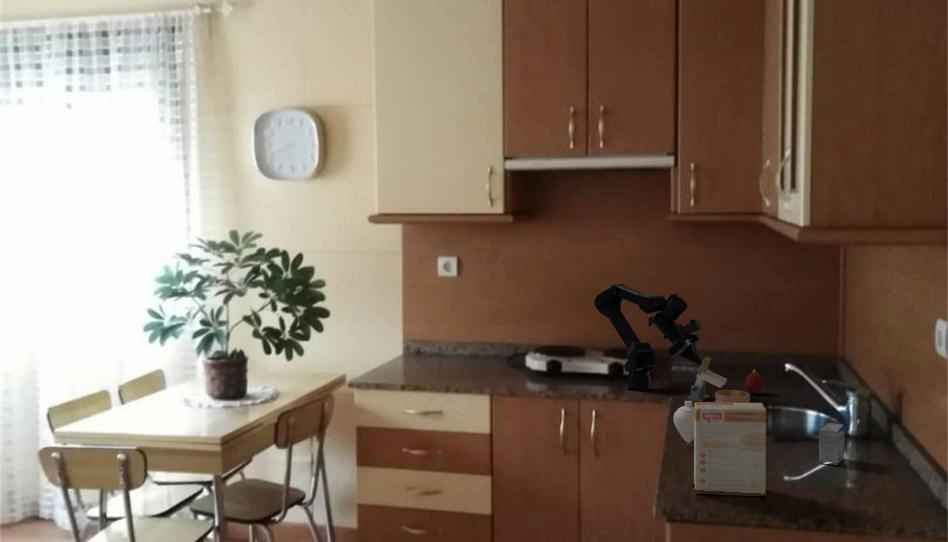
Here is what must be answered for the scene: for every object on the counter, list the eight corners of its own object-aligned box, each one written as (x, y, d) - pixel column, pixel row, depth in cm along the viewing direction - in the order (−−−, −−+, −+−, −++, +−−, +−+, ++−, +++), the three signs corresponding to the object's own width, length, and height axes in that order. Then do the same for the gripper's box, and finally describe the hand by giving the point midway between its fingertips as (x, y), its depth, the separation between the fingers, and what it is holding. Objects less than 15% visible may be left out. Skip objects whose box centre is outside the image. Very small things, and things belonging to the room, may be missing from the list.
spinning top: (667, 444, 246) (667, 399, 245) (691, 441, 249) (691, 396, 248) (684, 451, 239) (685, 405, 238) (709, 448, 242) (709, 402, 241)
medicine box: (837, 466, 225) (838, 431, 224) (818, 464, 227) (819, 429, 226) (844, 458, 231) (845, 424, 231) (825, 456, 234) (826, 422, 233)
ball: (733, 404, 292) (726, 396, 293) (736, 402, 295) (729, 393, 296) (742, 398, 291) (734, 389, 291) (744, 396, 294) (737, 387, 295)
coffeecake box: (761, 487, 209) (762, 402, 208) (766, 498, 202) (767, 409, 201) (693, 485, 212) (693, 400, 210) (695, 495, 205) (696, 407, 203)
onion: (764, 396, 303) (764, 371, 302) (745, 395, 304) (746, 371, 303) (762, 392, 309) (762, 368, 308) (744, 391, 310) (744, 368, 309)
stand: (686, 400, 297) (686, 385, 297) (693, 396, 304) (694, 380, 304) (702, 402, 295) (702, 386, 294) (709, 397, 302) (709, 382, 301)
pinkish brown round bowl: (711, 404, 292) (711, 394, 292) (720, 398, 301) (720, 388, 301) (744, 407, 287) (744, 398, 287) (752, 401, 296) (752, 391, 296)
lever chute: (691, 388, 297) (703, 358, 295) (696, 384, 302) (708, 356, 300) (715, 399, 294) (727, 369, 291) (720, 396, 299) (732, 366, 296)
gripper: (677, 314, 291) (712, 352, 286) (695, 308, 307) (728, 343, 302) (653, 338, 296) (686, 375, 291) (671, 330, 312) (704, 365, 307)
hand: (702, 364), depth 298 cm, fingers closed, pressing on lever chute
